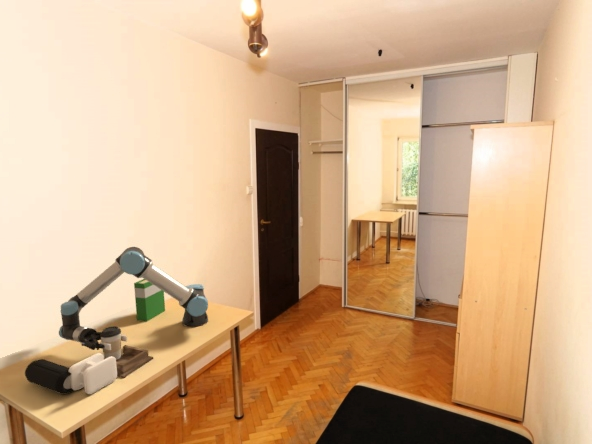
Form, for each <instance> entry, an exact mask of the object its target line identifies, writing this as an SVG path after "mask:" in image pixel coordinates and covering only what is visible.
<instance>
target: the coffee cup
mask: <svg viewBox="0 0 592 444" xmlns="http://www.w3.org/2000/svg"><path fill="white" fill-rule="evenodd" d="M100 332H101V333H100V336H101V340H100V342H103V343H108V344H111V350H107V349H102V353H103V356H104V358H105V359H106V358H108V357H111V356H112V357H115V358H116V360H117V359H119V358H120V357H121V355H122V341H121V333H122V330H121V328H120V327H119V326H109V327H108V326H107V327H105V328H104V329H102V331H100Z"/></svg>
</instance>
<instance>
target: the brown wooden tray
mask: <svg viewBox="0 0 592 444" xmlns="http://www.w3.org/2000/svg"><path fill="white" fill-rule="evenodd" d="M122 351H123V353H121V357H120V358H119V359H117V360H116V367H117V378H122V379H125V378H126V377H127V376H130V375H131V374H132V373H134V372H136V371H137V370H138V369H140V368H142V367H144V365H146V364H147V363H149V362H151V361H152V360H154V356H152V355H151V356H150V355H149V350H148V349H144V348H141V347H136V346H131V345H126V344H125V345H123V346H122ZM104 359H105V357H104Z"/></svg>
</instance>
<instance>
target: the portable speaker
mask: <svg viewBox="0 0 592 444" xmlns="http://www.w3.org/2000/svg"><path fill="white" fill-rule="evenodd" d="M69 368H70V367H69V366H65V365H62V364H59V363H56V362H53V361H50V360H47V359H45V358H44V359H43V358H42V359H41V358H40V359H35V360H32V361H31V362H30V363H28V365H27V366H26V368H25V370H24V376H25V379H26V380H27V381H28V382H29V383H31V384H33V385H34V384H35V385H37V386H39V387H42V388H45V389H48V390H50V391H53V392H54V393H55V392H56V393H58V394H61V395H62V394H63V395H67V394H71V393H73V392H75V391H76V390H73V389H72V388H71V384H70V375H71V373H70V372H69Z"/></svg>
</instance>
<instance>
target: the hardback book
mask: <svg viewBox="0 0 592 444" xmlns="http://www.w3.org/2000/svg"><path fill="white" fill-rule="evenodd" d="M133 287H134V297H135V298H134V299H135V309H136V310H135V312H136V321H140V322H149V321H150V320H153V319H154V318H156V317H158V316H159V315H160V314H162V313H164V312H165V311H166V306H165V305H166V304H165V292H164V291H162V290H161V289H159V288H158V287H156V286H155V285H153V284H152V283H150V282H148V281H147V280H145V279H144V278H142V279H141V280H138V281H136V282H134V283H133Z"/></svg>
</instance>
